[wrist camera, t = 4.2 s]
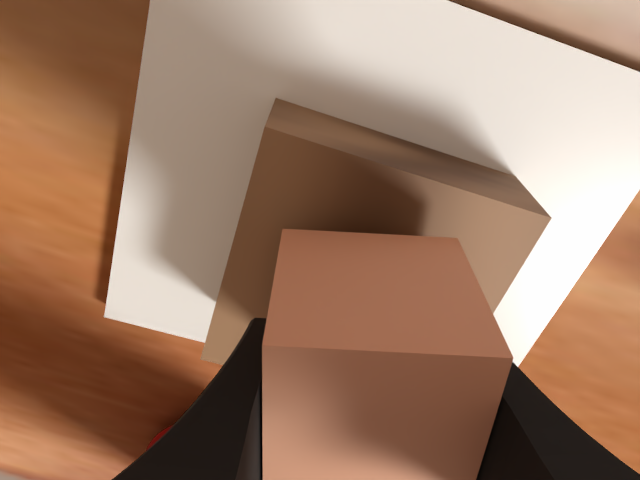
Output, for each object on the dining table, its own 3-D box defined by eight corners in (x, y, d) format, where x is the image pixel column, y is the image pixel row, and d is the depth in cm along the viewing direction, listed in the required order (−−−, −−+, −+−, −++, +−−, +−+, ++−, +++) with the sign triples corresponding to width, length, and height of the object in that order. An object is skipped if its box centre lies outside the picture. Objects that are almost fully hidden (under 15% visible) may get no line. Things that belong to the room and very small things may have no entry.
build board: (691, 91, 15) (703, 95, 15) (481, 403, 22) (485, 414, 21) (171, -102, 13) (165, -105, 13) (109, 307, 20) (103, 317, 19)
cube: (457, 238, 13) (513, 357, 9) (430, 369, 15) (465, 513, 11) (282, 228, 13) (262, 345, 9) (279, 362, 15) (262, 503, 11)
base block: (515, 176, 16) (551, 218, 14) (416, 356, 20) (430, 416, 17) (275, 97, 15) (264, 126, 13) (218, 303, 19) (200, 359, 16)
